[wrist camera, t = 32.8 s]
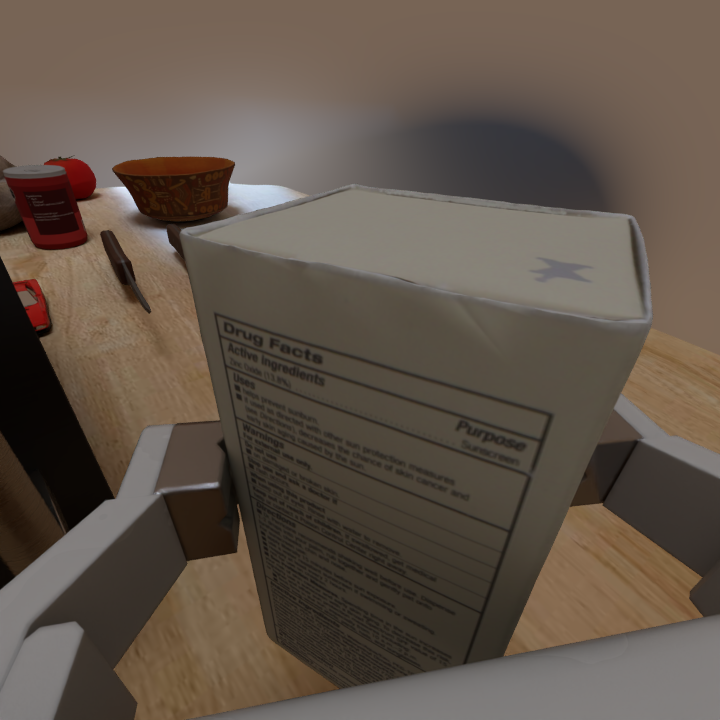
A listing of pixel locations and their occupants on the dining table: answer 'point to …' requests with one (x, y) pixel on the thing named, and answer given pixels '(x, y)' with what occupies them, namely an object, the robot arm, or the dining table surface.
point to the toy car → (34, 304)
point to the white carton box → (411, 408)
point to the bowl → (177, 186)
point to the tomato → (77, 176)
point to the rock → (7, 200)
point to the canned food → (47, 205)
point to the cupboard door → (37, 446)
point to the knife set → (124, 265)
